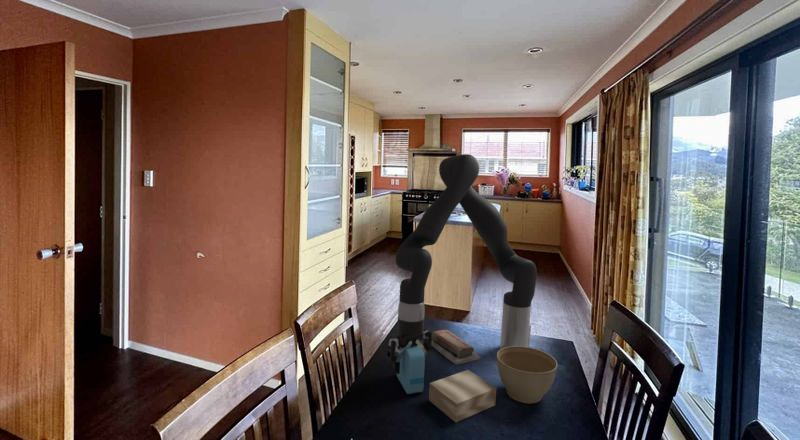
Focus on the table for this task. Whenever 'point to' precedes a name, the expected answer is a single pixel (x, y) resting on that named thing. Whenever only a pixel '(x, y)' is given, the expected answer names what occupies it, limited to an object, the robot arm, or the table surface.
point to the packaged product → (453, 347)
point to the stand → (462, 395)
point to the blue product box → (412, 370)
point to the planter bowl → (526, 372)
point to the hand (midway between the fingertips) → (408, 369)
